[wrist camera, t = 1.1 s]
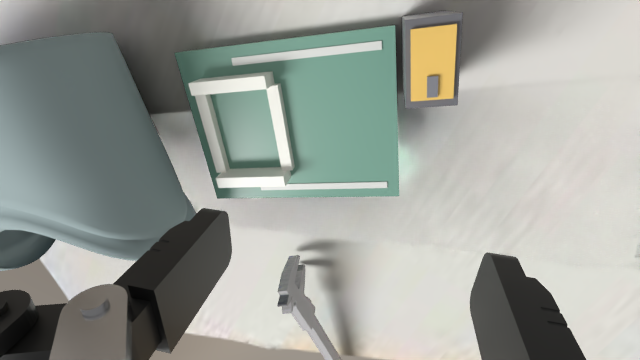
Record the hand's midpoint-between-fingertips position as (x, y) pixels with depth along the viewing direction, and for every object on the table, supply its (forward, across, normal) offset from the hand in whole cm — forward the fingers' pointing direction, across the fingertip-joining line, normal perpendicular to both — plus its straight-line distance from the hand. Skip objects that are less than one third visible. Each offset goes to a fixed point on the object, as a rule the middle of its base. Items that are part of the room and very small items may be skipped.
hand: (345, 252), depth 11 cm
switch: (+20, -3, -4) cm, 20 cm away
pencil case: (+20, +28, +8) cm, 35 cm away
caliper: (+21, +3, +27) cm, 34 cm away
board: (+20, +7, +3) cm, 21 cm away
